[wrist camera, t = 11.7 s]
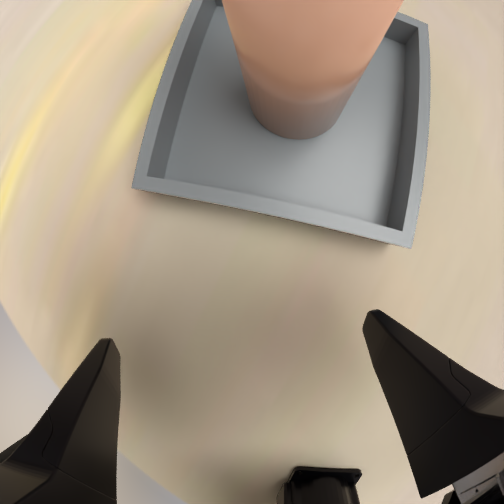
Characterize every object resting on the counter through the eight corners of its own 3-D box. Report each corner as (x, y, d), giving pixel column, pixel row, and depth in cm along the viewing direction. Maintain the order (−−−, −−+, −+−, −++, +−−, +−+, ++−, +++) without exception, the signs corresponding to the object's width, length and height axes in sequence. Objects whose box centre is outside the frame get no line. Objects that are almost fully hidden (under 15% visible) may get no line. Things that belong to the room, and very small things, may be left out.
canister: (358, 91, 17) (450, -63, 3) (308, 158, 17) (378, 3, 3) (283, 45, 17) (280, -127, 3) (230, 106, 17) (148, -66, 4)
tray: (410, 46, 17) (427, 24, 13) (389, 243, 18) (411, 248, 15) (211, 5, 17) (202, -22, 14) (154, 192, 19) (131, 188, 16)
